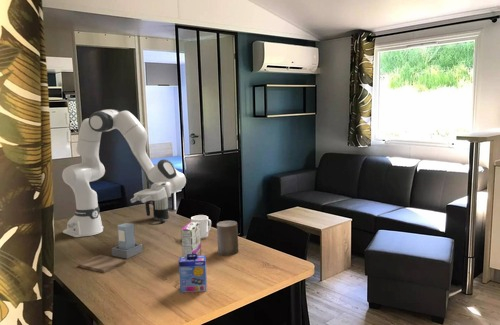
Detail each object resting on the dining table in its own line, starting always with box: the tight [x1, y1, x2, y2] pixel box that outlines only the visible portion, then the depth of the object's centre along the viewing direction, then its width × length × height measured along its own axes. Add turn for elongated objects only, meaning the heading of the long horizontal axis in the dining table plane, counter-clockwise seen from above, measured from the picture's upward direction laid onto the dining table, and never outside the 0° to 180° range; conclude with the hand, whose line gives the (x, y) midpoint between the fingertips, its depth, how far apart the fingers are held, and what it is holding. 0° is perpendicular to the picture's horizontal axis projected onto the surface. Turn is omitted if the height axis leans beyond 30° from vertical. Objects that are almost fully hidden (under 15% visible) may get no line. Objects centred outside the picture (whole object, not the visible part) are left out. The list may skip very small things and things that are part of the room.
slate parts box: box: [116, 222, 136, 250], centre depth 191 cm, size 5×6×14 cm
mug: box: [190, 214, 212, 240], centre depth 213 cm, size 11×9×10 cm
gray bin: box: [111, 242, 144, 260], centre depth 192 cm, size 10×10×4 cm
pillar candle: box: [216, 220, 240, 256], centre depth 190 cm, size 10×10×15 cm
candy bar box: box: [180, 221, 202, 257], centre depth 179 cm, size 11×5×16 cm, turn 168°
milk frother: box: [144, 197, 170, 223], centre depth 247 cm, size 14×16×15 cm
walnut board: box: [78, 254, 127, 274], centre depth 179 cm, size 16×12×1 cm
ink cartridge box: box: [178, 253, 208, 293], centre depth 152 cm, size 10×6×14 cm, turn 95°
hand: (136, 201), depth 196 cm, fingers open, 8 cm apart
